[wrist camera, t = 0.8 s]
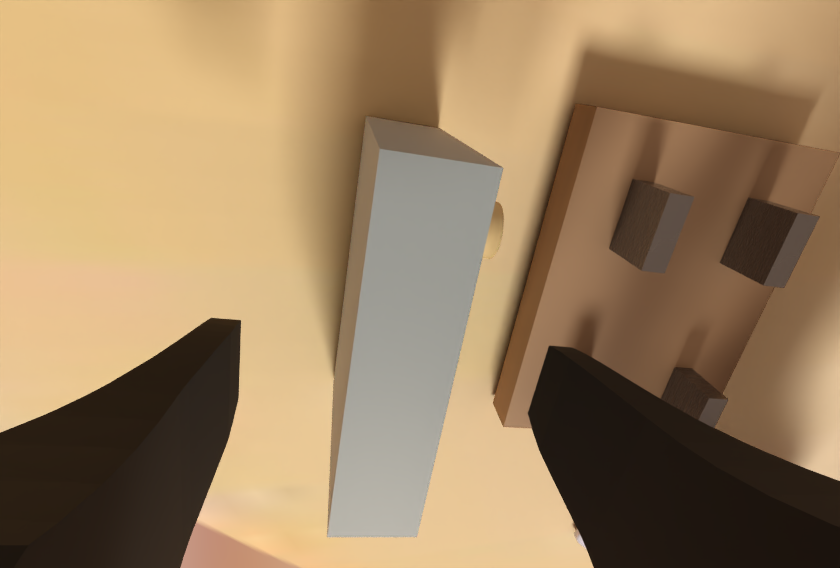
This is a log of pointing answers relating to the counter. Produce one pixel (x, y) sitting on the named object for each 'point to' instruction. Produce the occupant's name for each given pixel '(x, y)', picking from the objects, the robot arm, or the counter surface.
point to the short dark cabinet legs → (745, 253)
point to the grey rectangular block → (404, 319)
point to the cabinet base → (640, 290)
